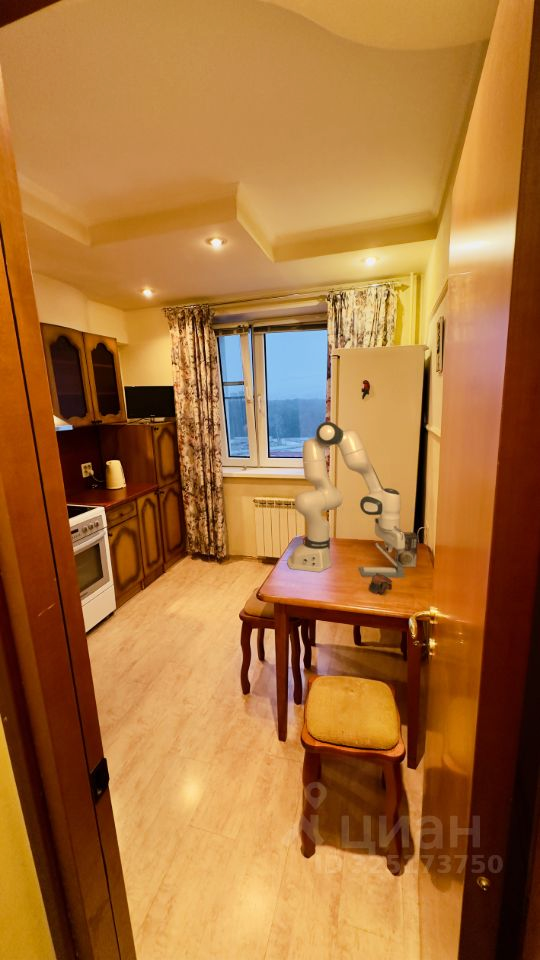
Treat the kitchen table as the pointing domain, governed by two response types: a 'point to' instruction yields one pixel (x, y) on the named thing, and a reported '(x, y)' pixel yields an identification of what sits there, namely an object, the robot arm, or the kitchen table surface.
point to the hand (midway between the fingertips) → (388, 551)
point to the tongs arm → (386, 554)
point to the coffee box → (408, 551)
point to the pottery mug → (383, 583)
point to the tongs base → (383, 571)
